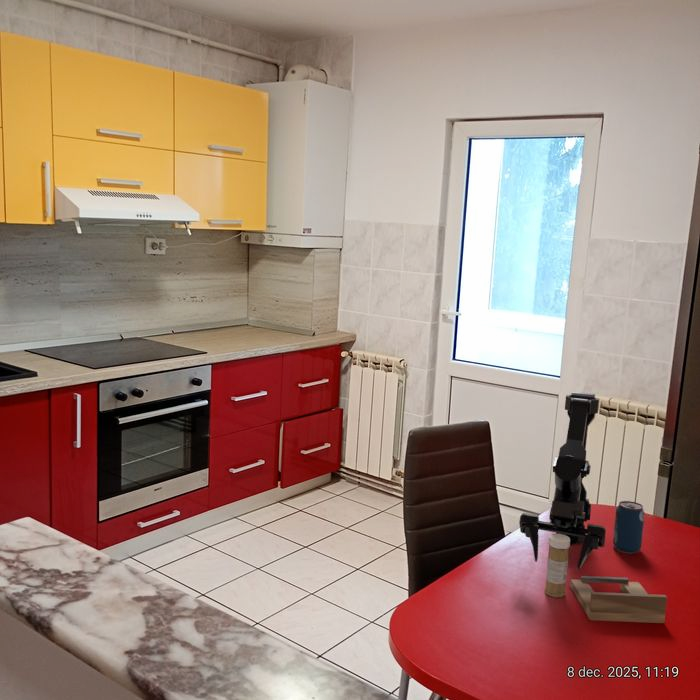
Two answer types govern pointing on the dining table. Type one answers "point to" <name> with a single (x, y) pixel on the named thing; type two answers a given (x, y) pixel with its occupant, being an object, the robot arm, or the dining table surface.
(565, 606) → the dining table surface
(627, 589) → the wooden frame
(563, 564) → the sprinkles bottle
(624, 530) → the soda can
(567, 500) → the robot arm
